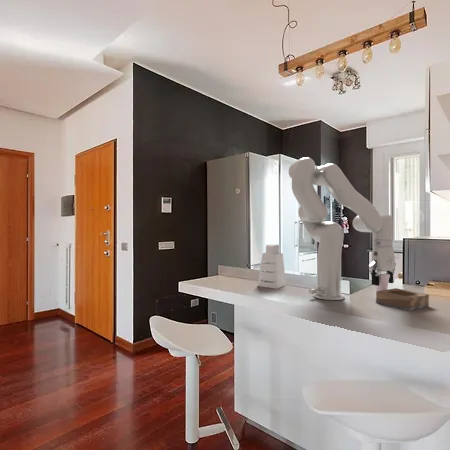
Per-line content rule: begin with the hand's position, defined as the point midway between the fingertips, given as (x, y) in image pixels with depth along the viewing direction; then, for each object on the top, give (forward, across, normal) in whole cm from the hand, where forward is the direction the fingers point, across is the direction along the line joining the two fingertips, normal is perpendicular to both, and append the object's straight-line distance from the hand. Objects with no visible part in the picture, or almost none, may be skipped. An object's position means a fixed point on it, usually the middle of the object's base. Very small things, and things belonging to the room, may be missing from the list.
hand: (382, 283), depth 139 cm
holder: (+6, -6, -12) cm, 14 cm away
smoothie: (+6, 0, 0) cm, 6 cm away
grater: (+5, -28, +40) cm, 49 cm away
